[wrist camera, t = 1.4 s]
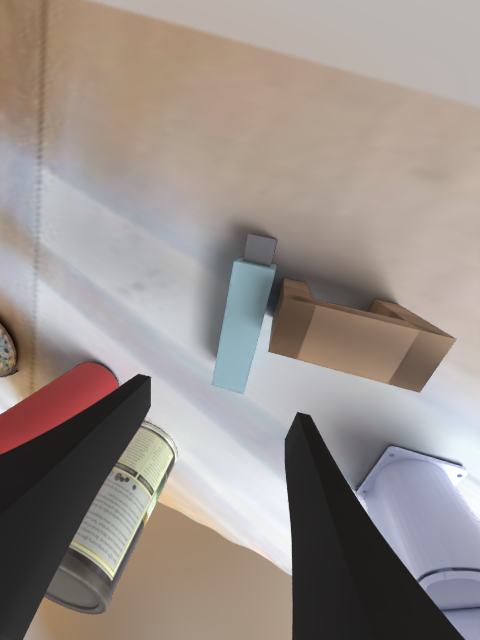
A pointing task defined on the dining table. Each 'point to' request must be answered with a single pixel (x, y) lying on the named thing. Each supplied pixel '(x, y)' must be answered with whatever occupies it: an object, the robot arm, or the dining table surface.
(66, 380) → the beer can
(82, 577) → the coffee can
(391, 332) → the brown block
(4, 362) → the plated food dish
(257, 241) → the light blue pillar
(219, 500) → the dining table surface
